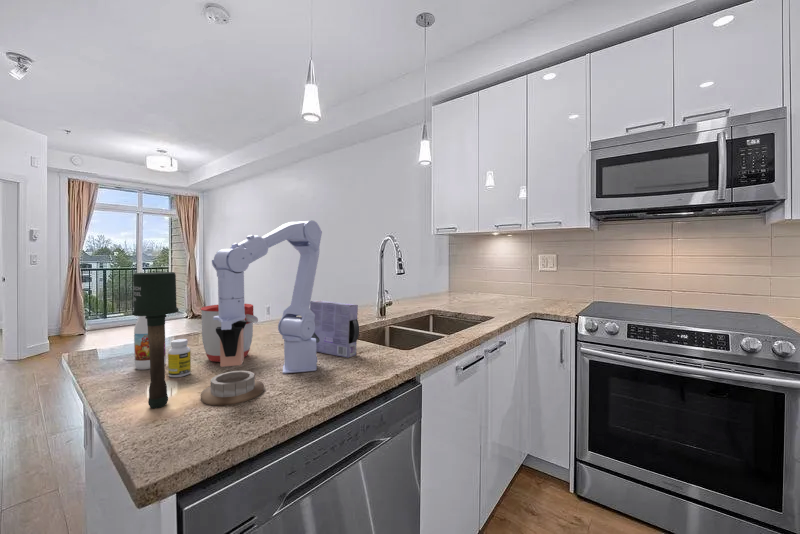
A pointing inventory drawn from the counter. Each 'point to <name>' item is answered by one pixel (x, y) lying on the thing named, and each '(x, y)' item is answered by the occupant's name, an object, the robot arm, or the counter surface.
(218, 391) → the collar
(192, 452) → the counter surface
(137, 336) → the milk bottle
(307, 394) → the counter surface
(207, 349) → the citrus juicer
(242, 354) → the peg
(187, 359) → the supplement bottle
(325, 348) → the cake pan box
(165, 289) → the potato masher grenade
